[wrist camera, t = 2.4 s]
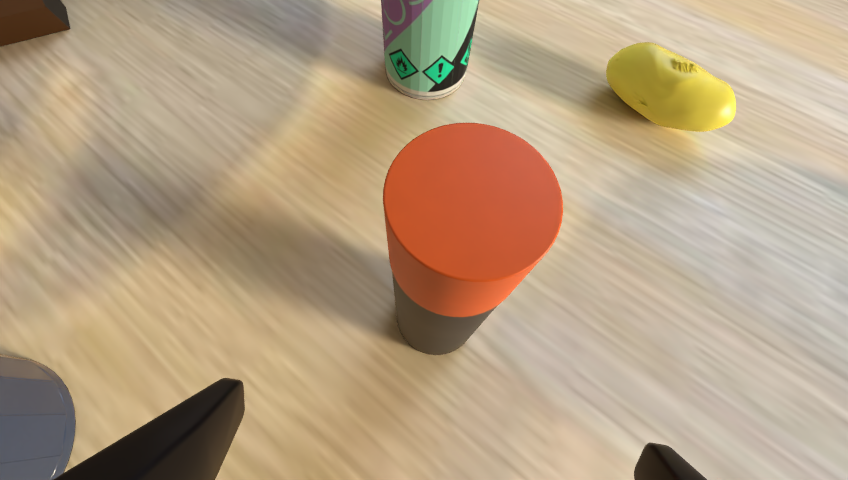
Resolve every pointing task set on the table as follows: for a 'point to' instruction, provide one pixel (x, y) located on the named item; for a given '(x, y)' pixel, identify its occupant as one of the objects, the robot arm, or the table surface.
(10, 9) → the pan flute
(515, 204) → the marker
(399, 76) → the spray can
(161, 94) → the table surface
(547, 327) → the table surface
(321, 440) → the table surface
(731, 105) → the yellow potato
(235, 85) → the table surface
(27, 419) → the pen cup
